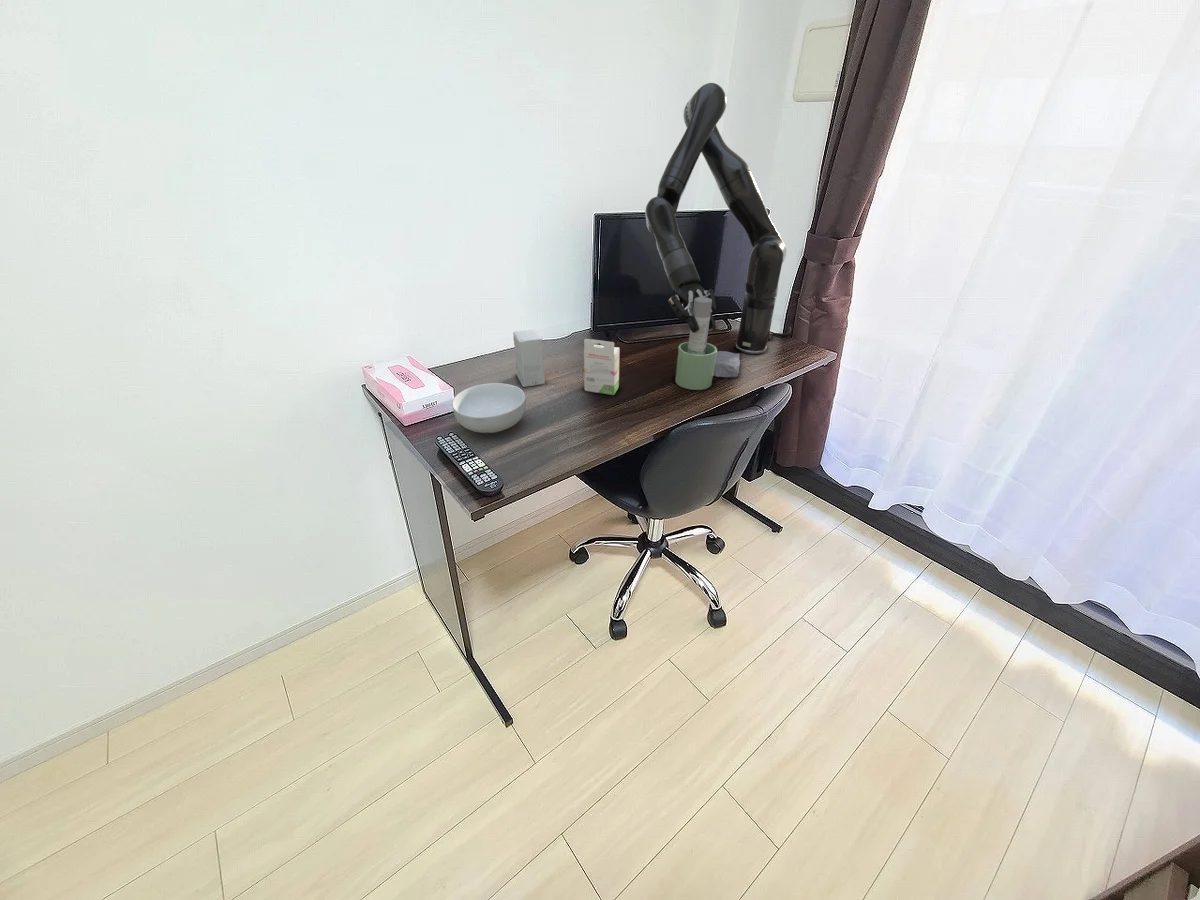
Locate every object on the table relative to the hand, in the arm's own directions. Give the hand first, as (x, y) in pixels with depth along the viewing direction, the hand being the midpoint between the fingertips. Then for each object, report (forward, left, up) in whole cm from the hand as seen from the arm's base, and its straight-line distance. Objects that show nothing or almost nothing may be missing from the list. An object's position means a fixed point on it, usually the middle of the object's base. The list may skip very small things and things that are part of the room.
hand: (704, 329), depth 129 cm
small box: (+32, -34, -16) cm, 49 cm away
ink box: (+22, -16, -16) cm, 31 cm away
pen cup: (0, -2, -16) cm, 16 cm away
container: (0, -2, -8) cm, 8 cm away
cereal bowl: (+54, -21, -16) cm, 60 cm away
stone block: (-13, -1, -16) cm, 21 cm away
